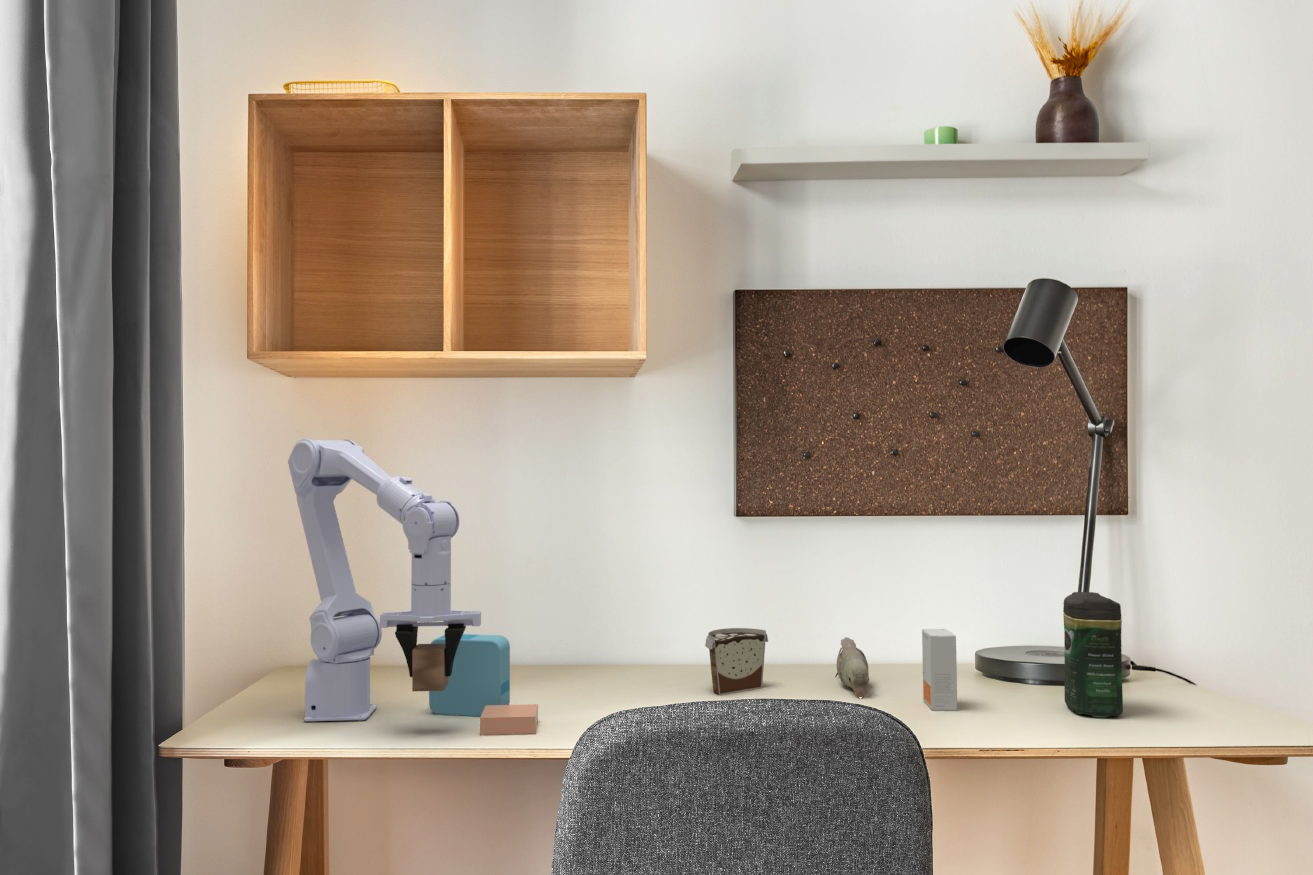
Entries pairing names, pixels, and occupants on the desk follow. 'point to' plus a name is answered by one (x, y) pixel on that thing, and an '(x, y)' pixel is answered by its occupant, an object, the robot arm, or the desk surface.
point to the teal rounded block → (475, 676)
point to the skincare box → (939, 669)
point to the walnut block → (429, 667)
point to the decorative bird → (852, 667)
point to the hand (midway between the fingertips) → (430, 675)
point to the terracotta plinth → (509, 719)
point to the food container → (736, 659)
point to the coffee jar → (1093, 654)
